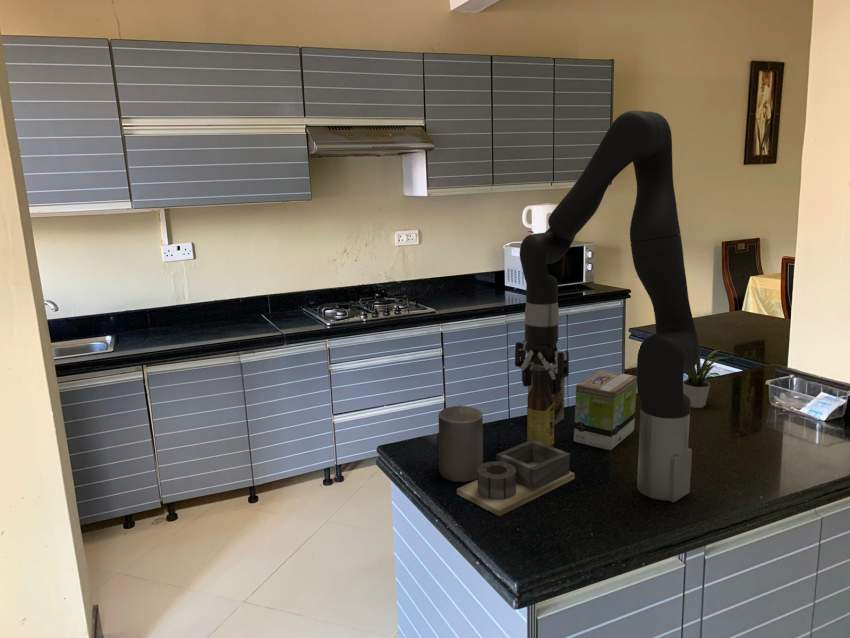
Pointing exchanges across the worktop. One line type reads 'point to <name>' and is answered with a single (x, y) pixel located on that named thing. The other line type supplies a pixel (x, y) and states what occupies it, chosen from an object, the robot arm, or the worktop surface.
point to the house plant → (699, 382)
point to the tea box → (605, 409)
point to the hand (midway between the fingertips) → (540, 389)
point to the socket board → (518, 477)
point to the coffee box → (555, 399)
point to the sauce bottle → (540, 408)
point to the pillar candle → (460, 443)
